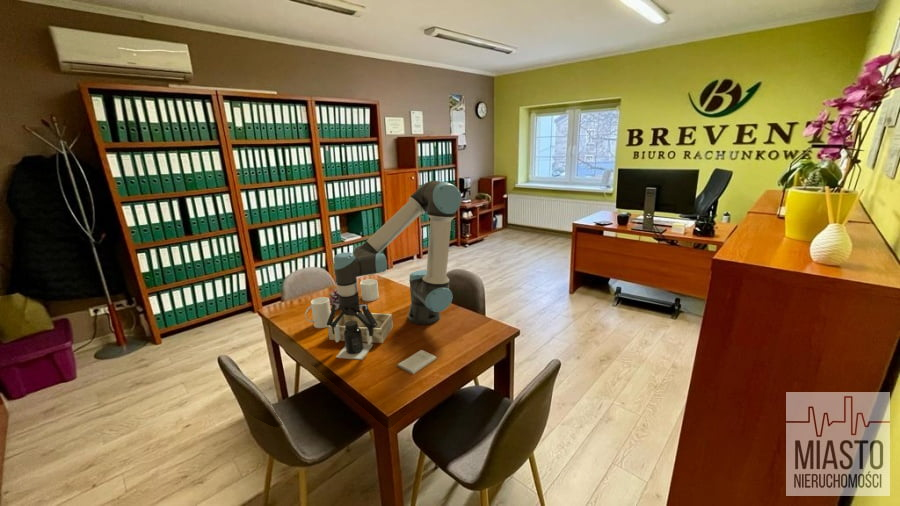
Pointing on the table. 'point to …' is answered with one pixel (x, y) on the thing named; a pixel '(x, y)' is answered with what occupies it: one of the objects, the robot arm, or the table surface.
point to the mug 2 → (369, 289)
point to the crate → (378, 333)
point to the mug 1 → (320, 312)
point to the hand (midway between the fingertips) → (354, 341)
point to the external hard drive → (417, 361)
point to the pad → (359, 355)
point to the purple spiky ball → (334, 297)
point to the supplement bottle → (353, 338)
